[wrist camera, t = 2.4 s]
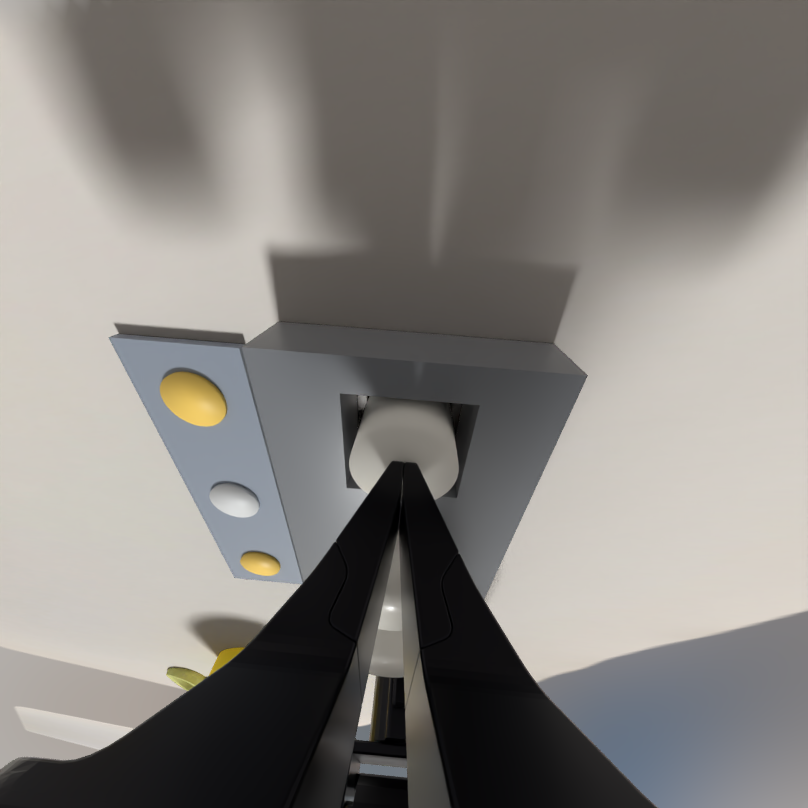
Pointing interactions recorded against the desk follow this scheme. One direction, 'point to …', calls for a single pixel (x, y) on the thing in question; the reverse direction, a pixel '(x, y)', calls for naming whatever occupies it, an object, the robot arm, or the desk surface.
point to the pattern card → (216, 447)
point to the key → (185, 677)
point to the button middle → (392, 596)
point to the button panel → (417, 380)
